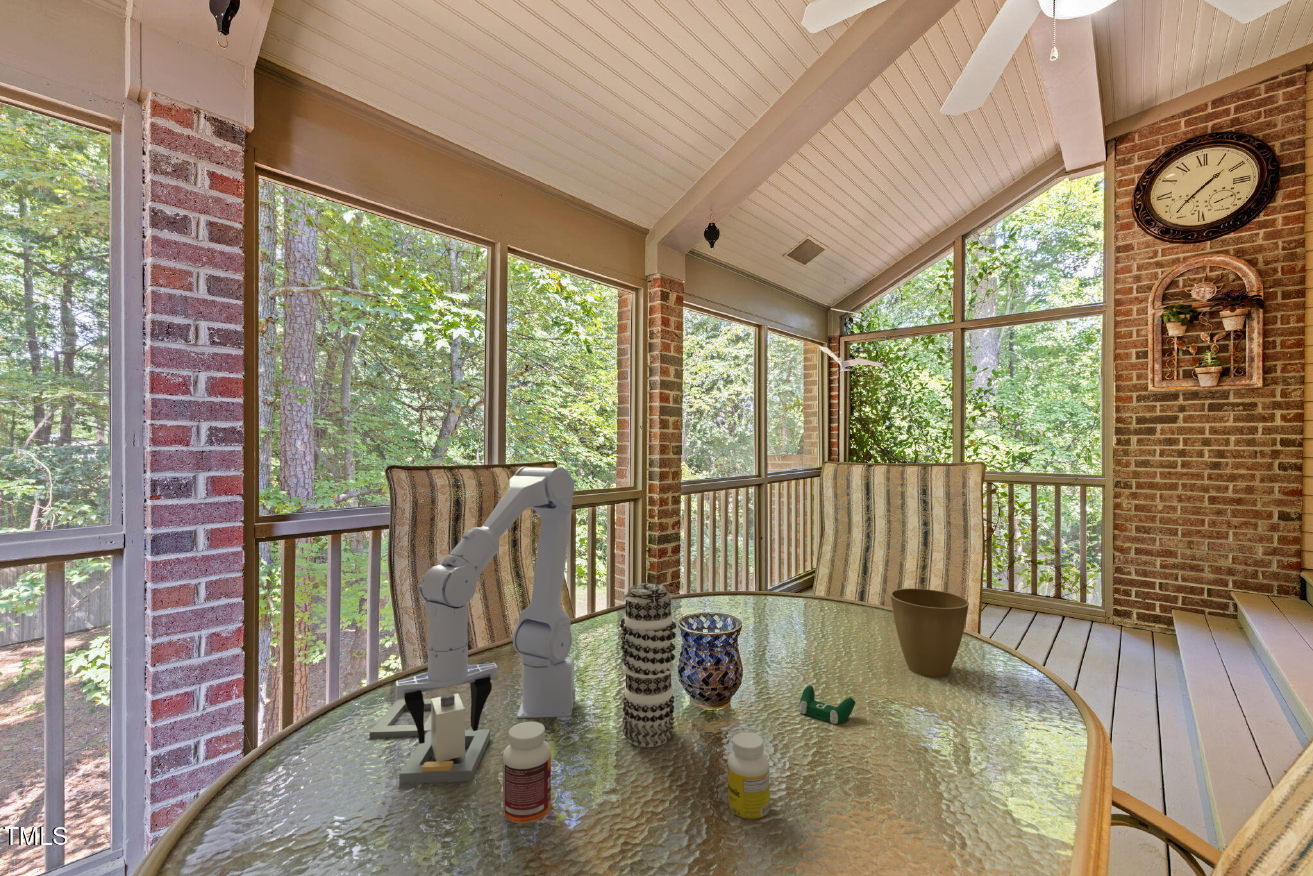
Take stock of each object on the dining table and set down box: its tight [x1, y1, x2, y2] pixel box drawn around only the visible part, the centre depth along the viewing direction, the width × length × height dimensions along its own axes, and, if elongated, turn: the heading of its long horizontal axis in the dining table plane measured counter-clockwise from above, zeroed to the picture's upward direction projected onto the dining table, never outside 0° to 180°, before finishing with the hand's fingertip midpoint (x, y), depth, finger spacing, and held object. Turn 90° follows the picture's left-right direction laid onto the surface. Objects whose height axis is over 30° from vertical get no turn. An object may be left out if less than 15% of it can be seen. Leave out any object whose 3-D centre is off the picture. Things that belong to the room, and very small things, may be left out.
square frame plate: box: [369, 698, 432, 739], centre depth 102 cm, size 10×12×1 cm
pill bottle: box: [502, 721, 552, 824], centre depth 76 cm, size 6×6×11 cm
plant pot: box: [890, 587, 970, 678], centre depth 122 cm, size 15×15×16 cm
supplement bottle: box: [727, 731, 771, 821], centre depth 76 cm, size 5×5×10 cm
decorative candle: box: [619, 582, 677, 748], centre depth 95 cm, size 9×9×25 cm
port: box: [398, 728, 491, 785], centre depth 88 cm, size 10×12×3 cm
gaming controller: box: [798, 685, 856, 726], centre depth 102 cm, size 9×4×6 cm
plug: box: [430, 693, 466, 762], centre depth 88 cm, size 4×6×8 cm, turn 28°
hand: (448, 734), depth 88 cm, fingers open, 7 cm apart
